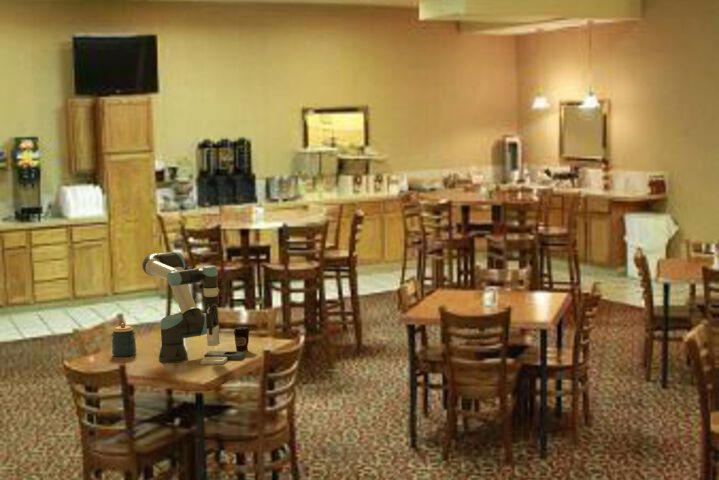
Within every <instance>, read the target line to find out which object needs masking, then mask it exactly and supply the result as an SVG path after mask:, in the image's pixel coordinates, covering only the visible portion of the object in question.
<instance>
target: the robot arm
mask: <svg viewBox="0 0 719 480" xmlns="http://www.w3.org/2000/svg"><path fill="white" fill-rule="evenodd" d="M185 262H186V260H185V258H184V256H183V254H182V253H181V252H179V251H168V252H157V253H152V254H149V255H147V256H146V257H145V258H144V259H143V260H142V263H141V264H142V265H141V267H142V268H141V269H142V270H143V272H144V273H145V274H146V275H148V276H151V277H158V278H161V279H163V280H165V281H167V283H168V285H169V286H170V288H171V290H172V293H173V296H174V297H175V300H176V302H177V305H178V308H179V309H180V312H181V314H179V313H178V314H177V313H176V314H175V313H174V314H169V315H167V316H164V317H162V319H161V320H160V338H161V346H160V351H159V354H158V361H159V362H162V363H179V362H185V361H186V360H188V358H189V355H188V352H187V351H188V350H187V349H186V347H185V341H184V339H189V338H194V337H202V336H204V335H205V336H206V335H207V329H208V335H209V341H214V328H213V325H219V316H218V314H219V311H218V309H219V308H218V307H219V305H217V304H218V303H219V302H220V300H219V298H220V297H219V292H220V289H219V278H218V275H219V272H218V267H217V266H216V265H204V266H203V267H200V266H199V267H194V268H191V269H185V268H186V263H185ZM199 283H202V285H203V302H204V304H205V305H207V307H206V309H205V312H202V310H201V308H199V307H197V304H196V302H195V299H194V298H193V296H192V293H191V291H190V288H189V286H188V285H191V284H199ZM219 326H220V325H219Z"/></svg>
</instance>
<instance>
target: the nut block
mask: <svg viewBox="0 0 719 480" xmlns="http://www.w3.org/2000/svg"><path fill="white" fill-rule="evenodd" d="M213 328H214V341H209V335H208V329H207V334H206V340H207V342H206V344H207V346H209V347H217V346H219V345H220V344H221V343H220V325H213Z"/></svg>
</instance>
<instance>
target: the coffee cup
mask: <svg viewBox="0 0 719 480" xmlns="http://www.w3.org/2000/svg"><path fill="white" fill-rule="evenodd" d="M233 334H234V343H235V348H236V351H244V352H245V353H246V352H249V348H248V346H249V340H250V339H249V335H250V329H249V327H248V326H240V327H235V328H234V330H233Z"/></svg>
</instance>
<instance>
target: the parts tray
mask: <svg viewBox="0 0 719 480" xmlns="http://www.w3.org/2000/svg"><path fill="white" fill-rule="evenodd" d="M228 361H229V360H228V359H227V357H205V358H204V357H202V358H201V359H200V361H199V363H200V364H199V365H224V364H225V363H226V362H228Z"/></svg>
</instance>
